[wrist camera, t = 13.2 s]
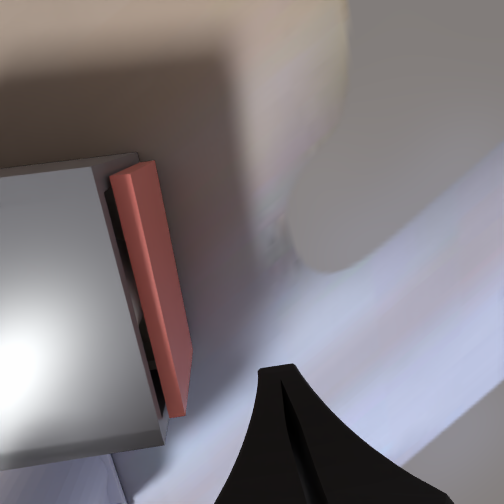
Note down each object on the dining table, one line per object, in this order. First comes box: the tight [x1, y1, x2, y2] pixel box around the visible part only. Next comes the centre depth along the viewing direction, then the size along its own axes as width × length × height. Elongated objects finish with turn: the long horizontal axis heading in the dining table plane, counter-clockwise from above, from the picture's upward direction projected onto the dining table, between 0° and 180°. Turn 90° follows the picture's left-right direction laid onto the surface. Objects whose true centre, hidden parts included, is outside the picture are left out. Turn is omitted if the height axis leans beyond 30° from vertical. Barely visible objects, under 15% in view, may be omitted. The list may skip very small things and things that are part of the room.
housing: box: [0, 152, 169, 471], centre depth 18 cm, size 13×11×7 cm
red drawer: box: [104, 160, 193, 418], centre depth 18 cm, size 12×11×6 cm
